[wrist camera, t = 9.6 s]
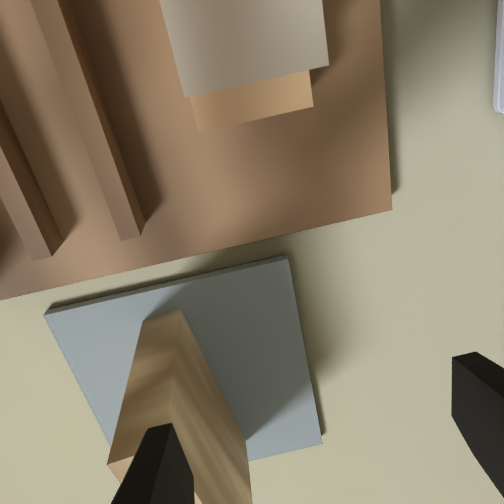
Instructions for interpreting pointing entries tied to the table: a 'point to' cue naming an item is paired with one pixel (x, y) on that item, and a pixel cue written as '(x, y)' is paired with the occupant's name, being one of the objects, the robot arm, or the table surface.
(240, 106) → the block
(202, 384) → the plywood sheet
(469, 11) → the table surface
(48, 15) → the walnut rack
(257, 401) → the slate mat
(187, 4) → the upper offcut
